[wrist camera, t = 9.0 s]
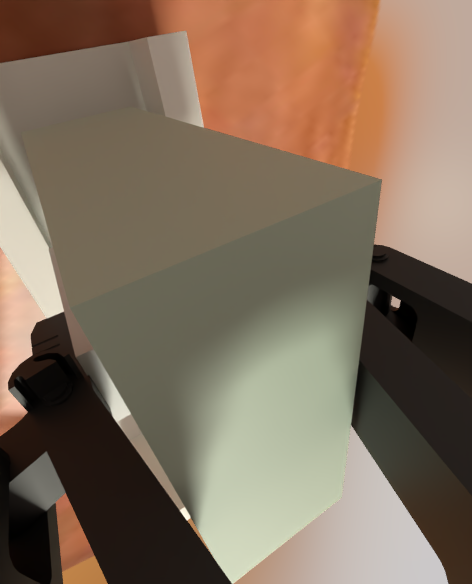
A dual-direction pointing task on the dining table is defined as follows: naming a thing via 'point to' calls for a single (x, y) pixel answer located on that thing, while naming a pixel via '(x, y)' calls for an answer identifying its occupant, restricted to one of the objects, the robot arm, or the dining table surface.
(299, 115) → the dining table surface
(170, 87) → the track
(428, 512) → the robot arm
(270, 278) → the door panel
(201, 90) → the dining table surface
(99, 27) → the dining table surface
